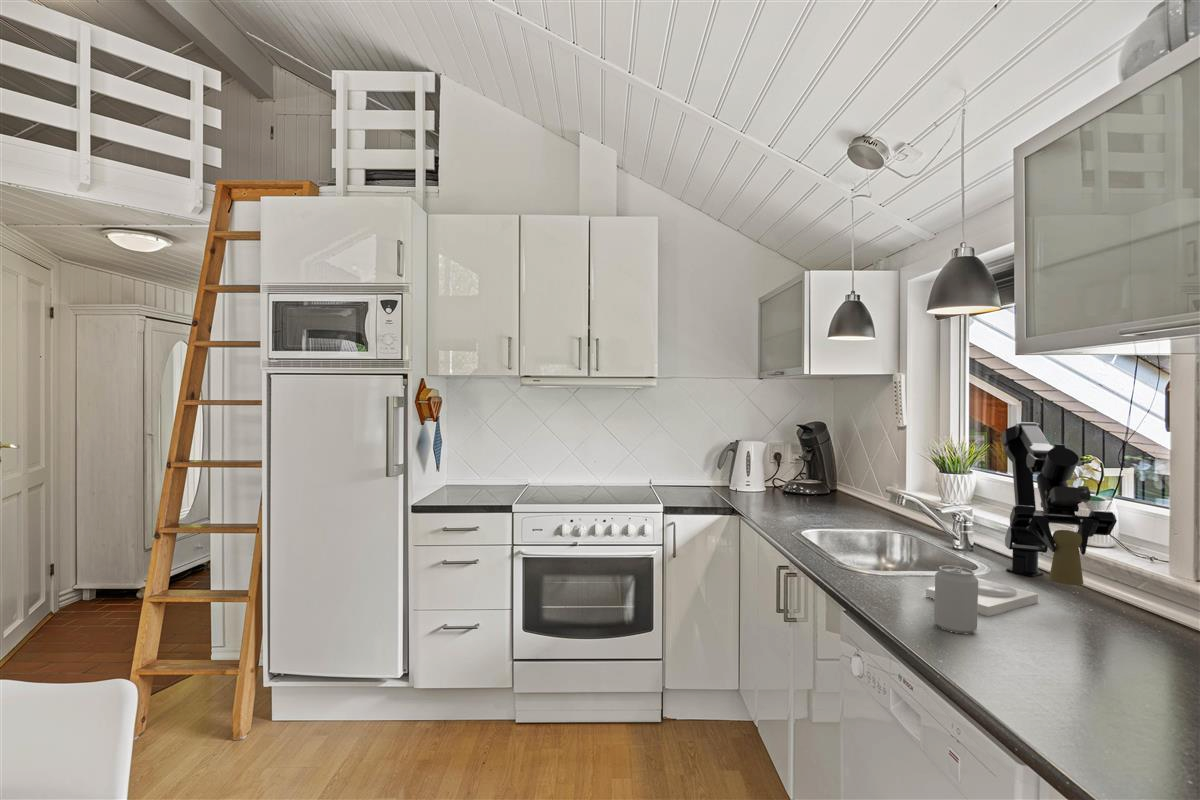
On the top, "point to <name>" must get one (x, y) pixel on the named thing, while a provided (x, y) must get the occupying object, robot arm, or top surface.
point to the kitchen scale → (997, 597)
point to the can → (956, 599)
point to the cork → (1066, 558)
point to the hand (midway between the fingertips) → (1068, 552)
